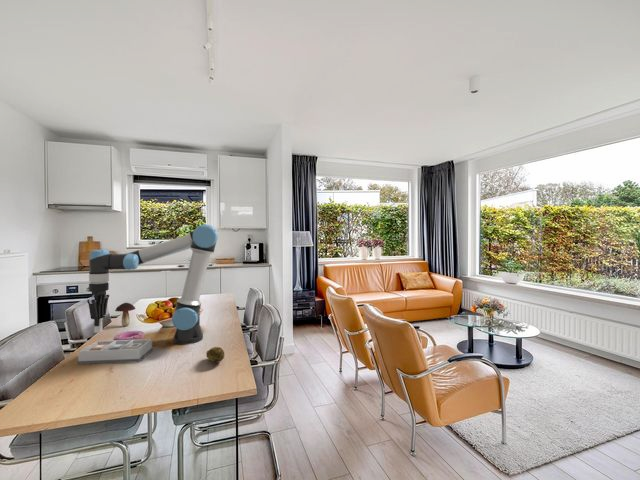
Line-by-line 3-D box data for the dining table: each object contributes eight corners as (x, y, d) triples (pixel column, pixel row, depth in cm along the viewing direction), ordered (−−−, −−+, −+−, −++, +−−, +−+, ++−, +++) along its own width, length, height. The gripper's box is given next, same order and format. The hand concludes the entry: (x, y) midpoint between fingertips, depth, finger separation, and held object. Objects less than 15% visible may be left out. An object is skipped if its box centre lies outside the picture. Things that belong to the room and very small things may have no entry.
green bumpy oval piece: (225, 356, 143) (225, 339, 143) (224, 367, 131) (224, 349, 131) (206, 358, 141) (206, 341, 141) (204, 370, 128) (204, 351, 128)
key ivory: (142, 348, 146) (142, 342, 146) (138, 351, 141) (138, 346, 141) (132, 348, 145) (132, 343, 145) (127, 352, 140) (127, 346, 140)
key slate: (125, 348, 145) (125, 343, 145) (119, 352, 140) (119, 347, 140) (114, 349, 144) (114, 343, 144) (109, 352, 140) (109, 347, 139)
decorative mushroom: (139, 324, 194) (139, 301, 194) (125, 329, 184) (124, 305, 184) (125, 323, 197) (125, 300, 197) (110, 328, 186) (110, 304, 186)
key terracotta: (107, 349, 144) (107, 344, 144) (101, 353, 139) (101, 347, 139) (97, 349, 143) (97, 344, 143) (90, 353, 139) (90, 348, 139)
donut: (107, 349, 152) (107, 339, 152) (120, 339, 166) (120, 330, 166) (138, 347, 155) (138, 337, 155) (148, 338, 169) (148, 329, 169)
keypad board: (152, 350, 151) (152, 339, 151) (139, 361, 137) (139, 349, 137) (97, 352, 148) (97, 340, 148) (77, 364, 134) (77, 351, 134)
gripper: (99, 280, 147) (98, 328, 147) (80, 284, 134) (80, 336, 134) (115, 280, 148) (114, 327, 148) (98, 284, 135) (98, 336, 135)
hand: (98, 332), depth 141 cm, fingers closed
